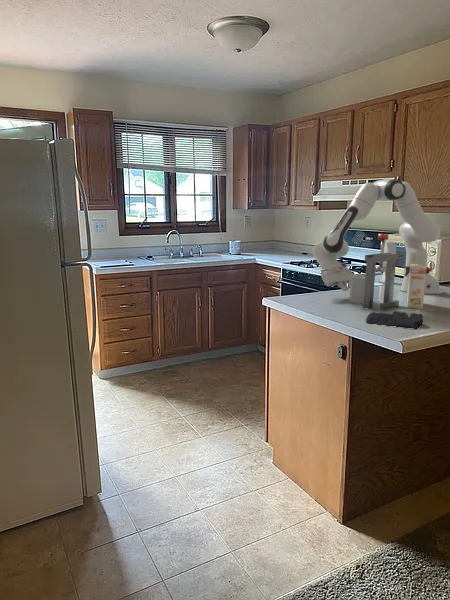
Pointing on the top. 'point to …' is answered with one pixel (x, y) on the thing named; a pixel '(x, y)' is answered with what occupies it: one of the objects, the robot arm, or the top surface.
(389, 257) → the press frame
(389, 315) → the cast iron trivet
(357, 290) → the supplement box
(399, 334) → the top surface
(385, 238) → the ram
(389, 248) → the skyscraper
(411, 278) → the coffeecake box
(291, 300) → the top surface
